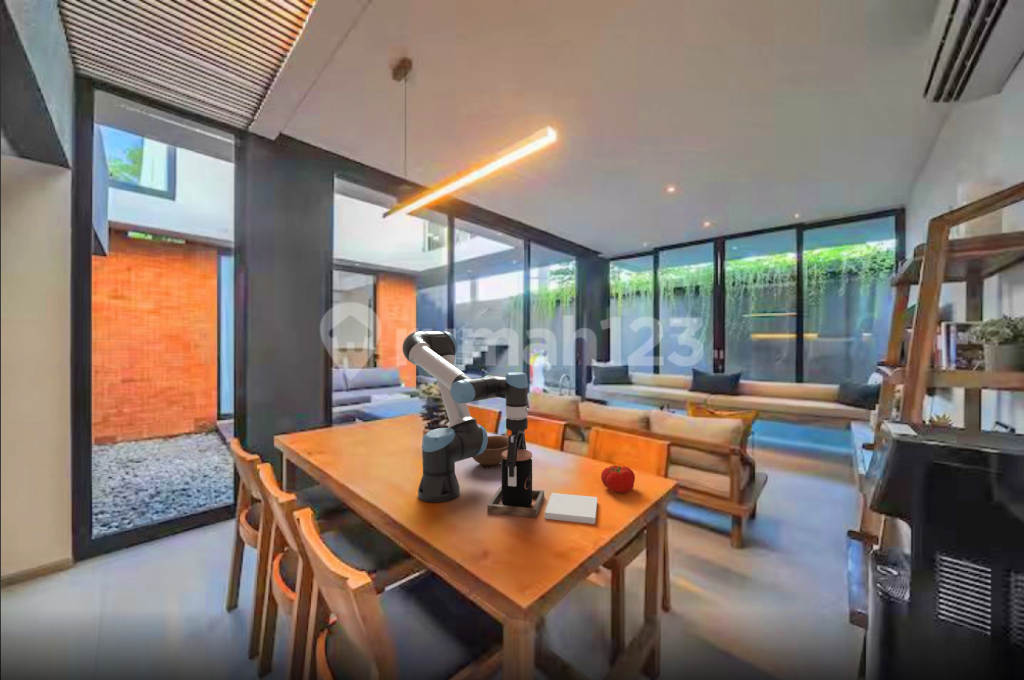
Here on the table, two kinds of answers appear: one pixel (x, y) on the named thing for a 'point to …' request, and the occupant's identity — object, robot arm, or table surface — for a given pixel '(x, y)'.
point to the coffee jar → (518, 481)
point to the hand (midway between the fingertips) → (516, 478)
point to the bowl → (493, 452)
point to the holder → (512, 509)
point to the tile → (572, 508)
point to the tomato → (618, 479)
